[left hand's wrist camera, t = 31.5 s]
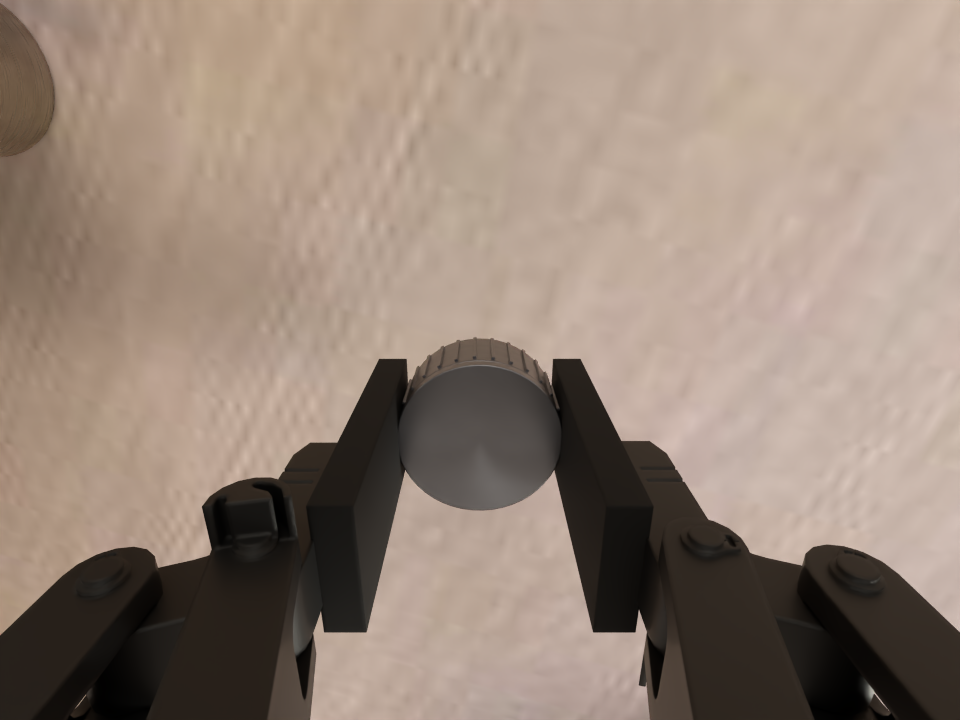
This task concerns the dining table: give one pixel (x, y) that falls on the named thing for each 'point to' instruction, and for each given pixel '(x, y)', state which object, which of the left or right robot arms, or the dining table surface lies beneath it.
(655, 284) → the dining table surface
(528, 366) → the cap
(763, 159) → the dining table surface
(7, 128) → the bottle
